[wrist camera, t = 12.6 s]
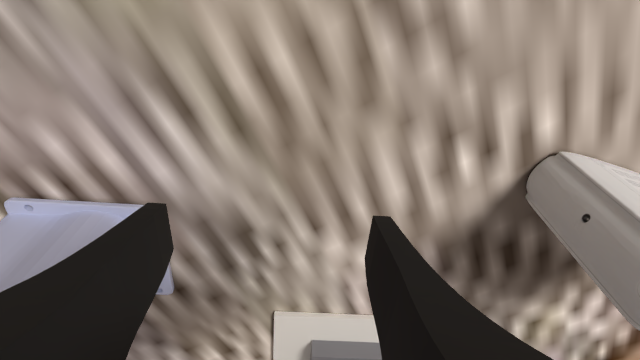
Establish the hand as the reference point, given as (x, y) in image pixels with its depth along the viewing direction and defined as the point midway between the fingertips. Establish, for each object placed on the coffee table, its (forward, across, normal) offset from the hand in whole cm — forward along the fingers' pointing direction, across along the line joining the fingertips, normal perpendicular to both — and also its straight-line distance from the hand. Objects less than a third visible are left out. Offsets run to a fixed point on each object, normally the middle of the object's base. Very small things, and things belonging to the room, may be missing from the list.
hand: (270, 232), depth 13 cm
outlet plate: (+9, -6, +23) cm, 26 cm away
